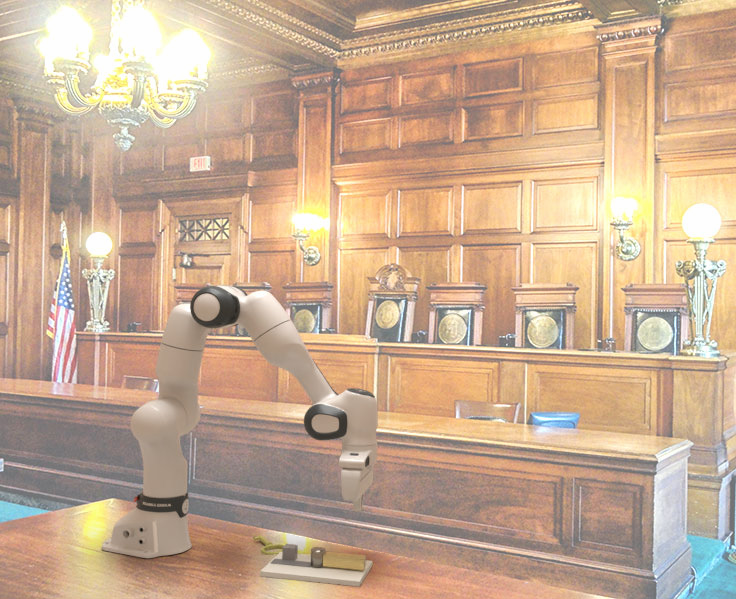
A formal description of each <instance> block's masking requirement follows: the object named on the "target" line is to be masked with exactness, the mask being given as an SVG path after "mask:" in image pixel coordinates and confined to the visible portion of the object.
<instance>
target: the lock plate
mask: <svg viewBox="0 0 736 599" xmlns="http://www.w3.org/2000/svg"><path fill="white" fill-rule="evenodd" d="M283 545H284V546H283V549H281V551H282V552H279V553H278V554H275V556H274V557H273V558H272V559H271V560H270V561H269V562H268V563H267V564H266V565H265V566H264V567H263V568H262V569H261V570H260V571H259V572H260V577H262V578H263V577H265V578H272V579H273V578H274V579H282V580H283V579H284V580H293V581H300V582H301V581H302V582H312V583H319V582H320V583H321V584H328V583H330V585H338V584H340V586H347V587H348V586H350V587H358V588H359V587H361V585H362V584H363V583H364V580H366V577H367V575H368V574H369V572H370V570H371V569H372V567H373V562H374V561H373V560H368V559H366V567H365V568H364V570H357V569H347V568H337V567H327V566H323V567H313V566H311V554H305V553H298V552H299V551H298V549H299V545H298V544H293V543H285V544H283Z"/></svg>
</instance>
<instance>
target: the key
mask: <svg viewBox="0 0 736 599" xmlns="http://www.w3.org/2000/svg"><path fill="white" fill-rule="evenodd" d="M252 539H253V540H254V541H260V542H261V543H263V544H264V545H265V546H262V548H260V554H262V555H268V556H270V555H271V556H272V555H274V554H275V555H277V554H278V553H279V552H282V549H283V546H284V545H285V544H281V543H279V544H274V543H273V542H272V541H269V540H268V539H266V537H264V536H263V535H262V534H259V535H258V536H254V537H252ZM279 549H281V550H279ZM268 550H269V551H268ZM270 550H279V551H270Z"/></svg>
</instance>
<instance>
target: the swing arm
mask: <svg viewBox="0 0 736 599" xmlns="http://www.w3.org/2000/svg"><path fill="white" fill-rule="evenodd" d="M310 555H311V566H313V567H323V566H327V567H337V568H347V569H357V570H364V568H365V567H366V560H367V555H366V554H359V553H358V554H357V553H347V552H346V553H345V552H335V551H327V549H326V548H325V547H321V546H315V547H314V546H313V547H312V548H311V549H310Z"/></svg>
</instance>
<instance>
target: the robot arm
mask: <svg viewBox="0 0 736 599" xmlns="http://www.w3.org/2000/svg"><path fill="white" fill-rule="evenodd" d="M238 325H239V326H241V327H242V328H243V329H245V331H246V332H247V334H248V336H250V339H251V341H252V342H253V344H254V346H255V347H256V349H257V350H258V352H259V353H260V355H261V356H262V357H263V358H264V359H265V361H267V363H269V364H270V365H272V366H274V367H277V368H279V369H282V370H284V371H287V372H288V373H290V375H292V376H294V378H295V379H296V380H297V382H298V383H299V384H300V386H301V388H302V389H303V390H304V392H305V393H306V394H307V396H308V398H309V400H310V401H311V402H312V404H313V405H311V406H310V407H309V408H308V409H307V410H306V411H305V413H304V416H303V428H304V429H305V431H306V433H307V434H308V436H310V437H311V438H312V439H314V440H317V441H323V442H325V441H331V440H335V439H341V451H340V457H339V460H338V468H341V471H340V484H341V496H342V499H343V501H347V502H349V501H350V502H352V504H353V508H352V510H353V512H354V513H361V511H362V510H363V509H364V499H365V495H366V494H365V493H366V491H367V490H368V489H369V488H370V487H371V485H372V484H373V482H374V464H376V463H377V462H378V439H377V429H378V422H379V417H378V403H377V399H376V396H375V395H374V394H373V393H372V392H371V391H368V390H366V389H363V388H362V389H361V388H356V387H355V388H353V387H349V388H347V389H345V390H344V391H343V392H341V393H338V392H337V391H336V390H334V389H333V387H332V386H331V384H330V383H329V381H328V380H327V378H326V376H325V375H324V374H323V372H322V371H321V369H320V368H319V366H318V365H317V363H316V362H315V361H314V359H313V358H312V356H311V354H310V352H309V350H308V348H307V346H306V344H305V343H304V341H303V339H302V337H301V335H300V334H299V331H298V329H297V328H296V326H295V324H294V322H293V321H292V319H291V318H290V316H289V314H288V312H286V310H285V308H284V307H283V306H282V304H281V303H280V302H279V301H278V300H277V298H276V297H275V296H274V295H273V294H272V293H270V292H269V291H267V290H256V291H253V292H251V293H249V294H248V293H247V292H246V291H245V290H244V289H242V288H240V287H238V286H234V285H228V284H219V285H208V286H204V287H202V288H201V289H199V290H197V291H196V292H195V293H194V295H193V296H192V297H191V301H190V303H188V302H187V303H180V304H178V305H175V306H174V307H173V308H172V309H171V312H170V313H169V316H168V319H167V320H166V323H165V327H164V329H163V334H162V336H161V342H160V345H159V350H158V356H157V360H156V364H155V368H154V369H155V370H154V372H155V375H156V376H157V379H158V396H157V399H153V400H150V401H147V402H145V403H144V404H142V405H141V406H140V407H138V408H137V409H136V410H135V412H134V413H133V414H132V416H131V419H130V430H131V433H132V435H133V437H134V438H135V439H136V440H137V441H138V444H139V448H140V452H141V457H142V465H143V482H142V485H143V488H142V489H143V490H142V491H141V493H139V494H138V495H137V494H136V496H135V497H133V501H132V503H135V502H136V505H135V507H133V509H131V510H130V511H128V512H127V513H126V514H125V515H123V516H122V517H121V518H119V519H118V520H117V521H116V522H115V524H114V526H113V529H112V532H111V537H109V538H107V539H106V540H105V541H104V542H103V543H102V546H101V550H102V551H106V552H110V553H111V552H112V553H117V554H122V555H127V556H131V557H137V558H144V559H153V558H157V557H162V556H170V555H177V554H180V553H184V552H186V551H188V550H190V549H191V548H192V546H193V545H192V542H191V538H190V537H191V536H190V532H189V525H188V524H189V523H188V512H189V502H190V501H189V492H188V461H187V460H186V459H187V458H185V457H184V454H183V450H182V445H181V437H182V436H185V435H187V434H188V433H190V432H191V431H192V430H193V429H194V428H195V427H196V426H197V425H198V424H199V422H200V420H201V415H202V410H201V407H200V404H199V398H198V397H199V389H198V386H199V376H200V370H201V366H202V361H203V356H204V350H205V346H206V341H207V337H208V335H209V333H210V332H211V330H214V329H228V328H231V327H235V326H238Z"/></svg>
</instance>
